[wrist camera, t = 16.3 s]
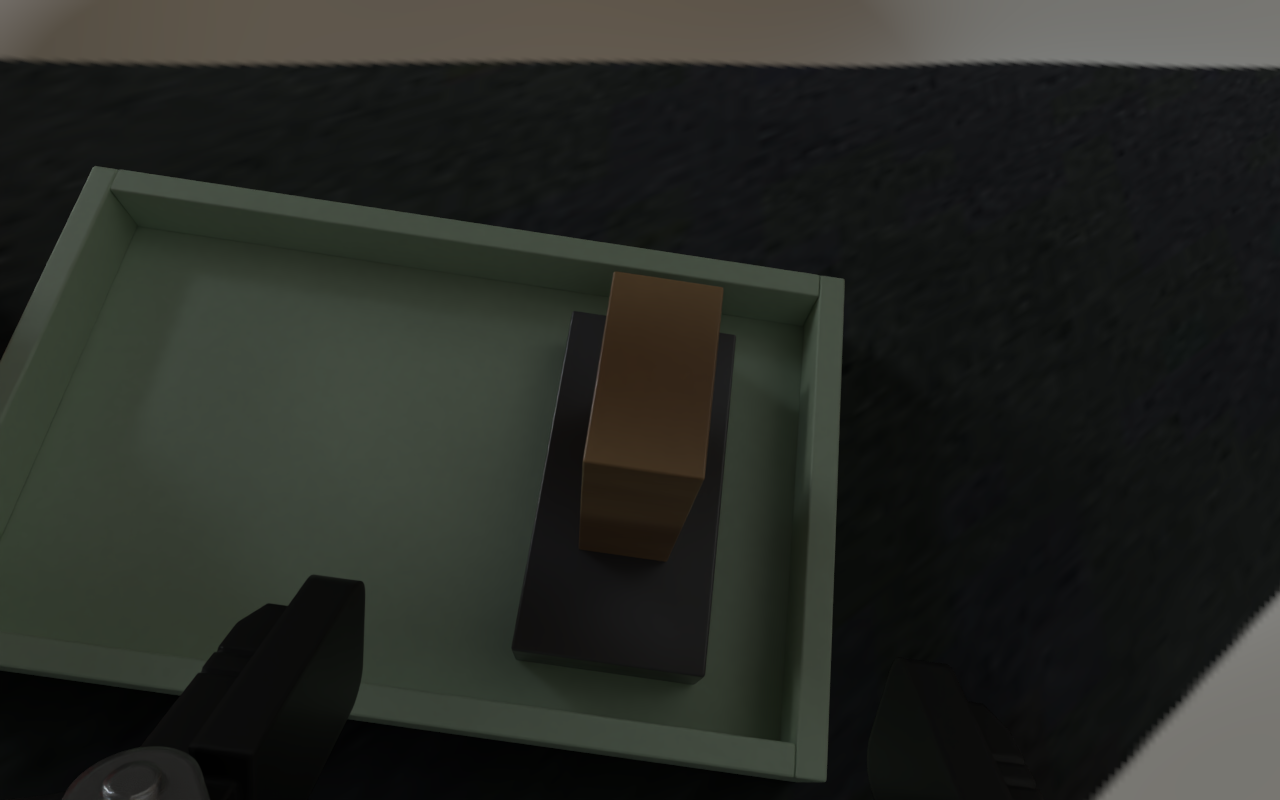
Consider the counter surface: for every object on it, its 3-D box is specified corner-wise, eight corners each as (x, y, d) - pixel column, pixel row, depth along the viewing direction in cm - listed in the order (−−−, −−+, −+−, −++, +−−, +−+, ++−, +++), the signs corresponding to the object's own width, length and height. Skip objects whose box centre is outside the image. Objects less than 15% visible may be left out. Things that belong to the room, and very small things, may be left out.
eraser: (695, 685, 24) (761, 635, 16) (514, 660, 24) (486, 597, 16) (726, 363, 28) (791, 190, 20) (572, 340, 28) (573, 157, 20)
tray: (-57, 661, 24) (-139, 646, 21) (136, 221, 30) (92, 164, 27) (797, 782, 24) (826, 782, 21) (820, 324, 30) (845, 278, 27)
